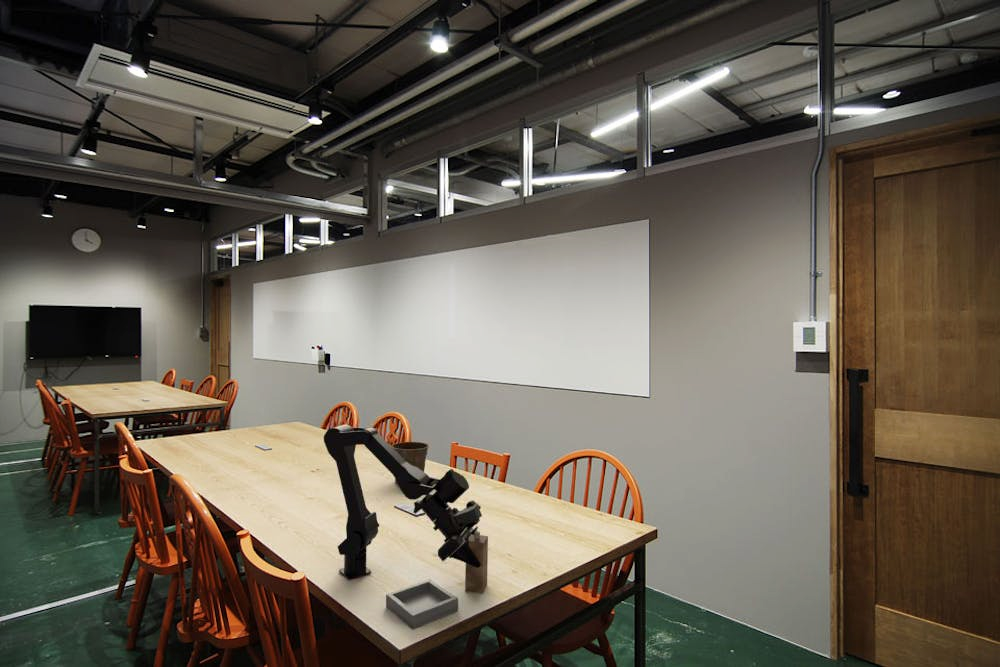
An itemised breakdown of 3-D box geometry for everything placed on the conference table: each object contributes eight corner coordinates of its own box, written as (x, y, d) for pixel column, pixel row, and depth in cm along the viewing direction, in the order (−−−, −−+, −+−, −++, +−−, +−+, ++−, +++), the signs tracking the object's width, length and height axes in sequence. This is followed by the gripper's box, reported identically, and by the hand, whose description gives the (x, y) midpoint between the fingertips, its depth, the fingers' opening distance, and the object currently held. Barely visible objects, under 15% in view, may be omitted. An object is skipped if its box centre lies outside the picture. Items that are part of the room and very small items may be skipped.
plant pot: (435, 482, 224) (436, 445, 224) (406, 489, 212) (407, 450, 212) (412, 475, 235) (413, 440, 235) (383, 482, 223) (383, 445, 223)
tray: (385, 607, 119) (386, 594, 119) (429, 591, 126) (429, 579, 126) (412, 629, 109) (412, 615, 110) (457, 611, 117) (458, 598, 117)
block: (465, 591, 127) (466, 534, 127) (470, 583, 131) (471, 528, 131) (482, 593, 126) (483, 536, 126) (487, 585, 130) (488, 530, 130)
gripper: (451, 505, 120) (495, 557, 118) (473, 484, 139) (512, 528, 136) (419, 535, 122) (462, 587, 119) (445, 510, 140) (483, 555, 138)
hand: (482, 562), depth 128 cm, fingers closed on block, 4 cm apart
